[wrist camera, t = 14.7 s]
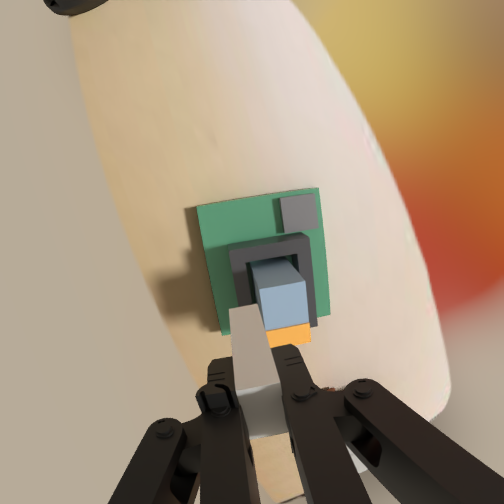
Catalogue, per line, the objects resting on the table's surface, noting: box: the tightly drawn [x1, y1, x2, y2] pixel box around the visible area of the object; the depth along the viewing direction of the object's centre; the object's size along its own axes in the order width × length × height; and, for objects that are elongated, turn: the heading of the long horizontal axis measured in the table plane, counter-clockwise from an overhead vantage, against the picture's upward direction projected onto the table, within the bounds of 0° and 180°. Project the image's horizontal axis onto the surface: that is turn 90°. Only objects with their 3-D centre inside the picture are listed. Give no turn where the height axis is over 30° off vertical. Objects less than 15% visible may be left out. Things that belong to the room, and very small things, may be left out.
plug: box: [249, 256, 311, 348], centre depth 31 cm, size 6×4×10 cm, turn 9°
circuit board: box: [196, 188, 330, 336], centre depth 34 cm, size 16×14×5 cm
